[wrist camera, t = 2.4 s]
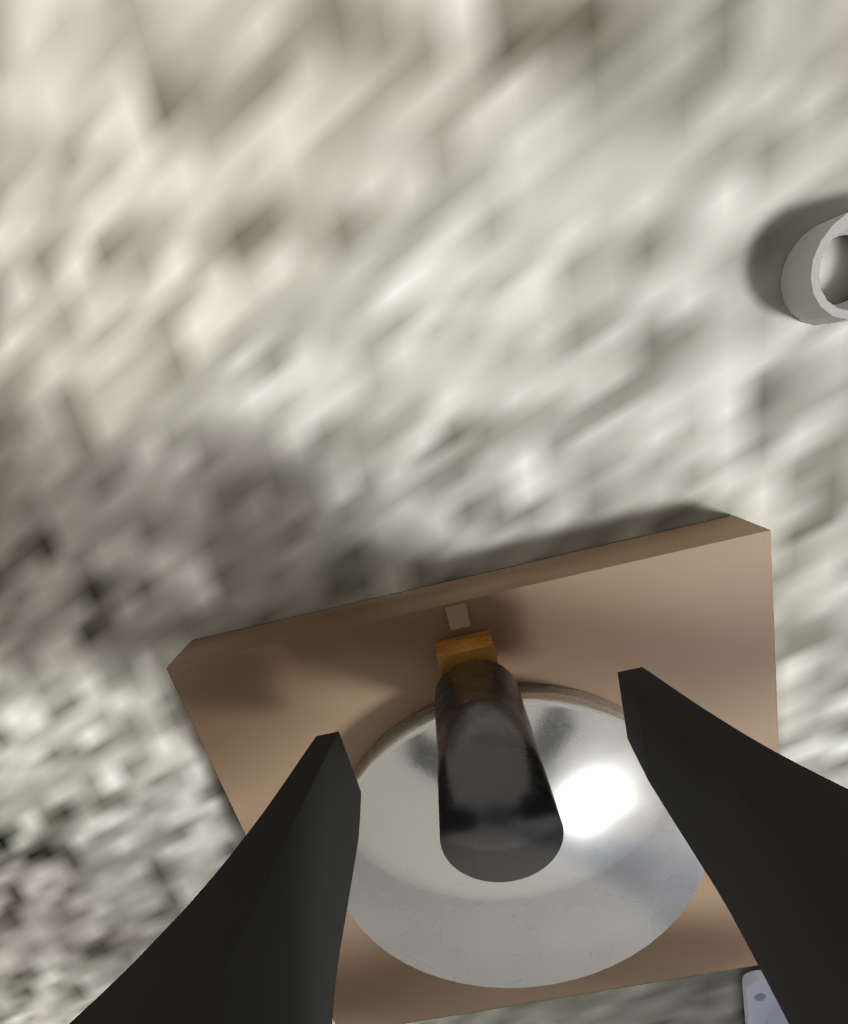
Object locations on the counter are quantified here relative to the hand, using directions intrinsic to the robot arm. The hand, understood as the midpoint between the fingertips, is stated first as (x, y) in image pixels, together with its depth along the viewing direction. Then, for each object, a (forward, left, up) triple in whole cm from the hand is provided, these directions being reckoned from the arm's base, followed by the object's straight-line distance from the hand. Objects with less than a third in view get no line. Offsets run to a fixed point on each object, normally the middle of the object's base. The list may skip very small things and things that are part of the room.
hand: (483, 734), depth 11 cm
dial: (-6, 0, -2) cm, 7 cm away
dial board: (-6, 0, -4) cm, 8 cm away
